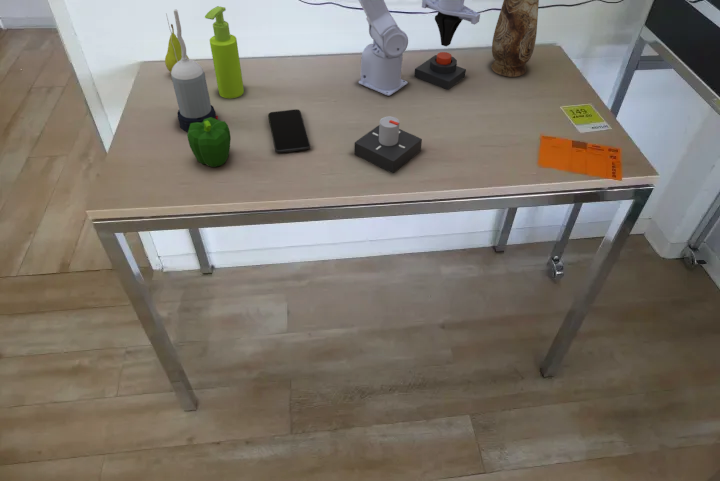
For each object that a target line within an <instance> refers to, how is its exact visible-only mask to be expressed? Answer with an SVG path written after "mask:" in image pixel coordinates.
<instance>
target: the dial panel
mask: <svg viewBox="0 0 720 481" xmlns="http://www.w3.org/2000/svg"><path fill="white" fill-rule="evenodd" d="M379 125H380V124H378V125H377V126H375V127H374V128H373V129H371V130H370V131H368V132H367V133H366V134H364V135H363V136H362V137H361V138H359V139H357V140H356V141H354V148H353V149H354V155H355V156H357V157H359V158H361V159H363V160H365V161H367V162H369V163H370V164H373V165H375V166H377V167H379V168H381V169H382V170H385V171H387V172H389V173H392V174H394V173H395V172H397V171H398V170H399V169H400V168H402V167H403V166H404V165H405V164H407V163H408V162H409V161H410V160H411V159H413V158H414V157H415V156H416V155H417V154H418V153H420V152H421V151H422V144H423V139H422V138H421V137H419V136H417V135H415V134H413V133H409V132H407V131H405V130H403V129H402V128H399V136H398V143H397V144H395V145H393V146H385V145H382V144H381V143H380V142H379Z"/></svg>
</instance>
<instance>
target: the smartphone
mask: <svg viewBox="0 0 720 481" xmlns="http://www.w3.org/2000/svg"><path fill="white" fill-rule="evenodd" d="M267 116H268V122H269V127H270V132H271V136H272V141H273V146H274V151H275V152H276V153H278V154H282V153H291V152H298V151H306V150H309V149H310V148H311V144H310V140H309V137H308V132H307V130H306V126H305V122H304V118H303V115H302V112H301V110H300V109H287V110H278V111H270V112H269V113H268V114H267Z"/></svg>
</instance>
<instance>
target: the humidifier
mask: <svg viewBox="0 0 720 481" xmlns="http://www.w3.org/2000/svg"><path fill="white" fill-rule="evenodd" d="M165 14H166V19H167V23H168V28H169V32H170V36H171V43H172V29H171V25H170V23H169V22H170V21H169V18H168V14H167V13H165ZM173 15H174V20H175V26H176V37H177V38H178V40H179V42H180V45H181V49H182V58H181V60H180V61H178V60H177V61H178V62H177V63H176V64H175V65H174V66H173V68H172V71H171V72H170V74H171V75H170V77H171V82H172V86H173V89H174V93H175V98H176V101H177V102H176V103H177V106H178V110H177V114H176V115H177V120H178V124H179V127H180V129H181V130H183V131H184V132H186V133H188V130H189V127H190V123H196V122H201V123H202V122H203V120H204V119H207V118H209V117H212V118H214V119H217V120H219V116H218V115H217V112H216V109H215V108H214V106H213V105H212V104H211V99H210V94H209V89H208V84H207V83H208V82H207V79H206V73H205V71H204V68H203V66H202V65H201V64H200V63H198V62H197V61H196V60H194V59H190V58H189V57H188V58H189V59H188V58H187V57H186V55H187V46H186V43H185V40H184V39H183V37H182V26H181V21H180V17H179V10H178V9H173ZM172 45H173V44H172ZM173 48H174V46H173ZM174 51H175V49H174ZM175 56H176V53H175ZM176 59H177V57H176Z"/></svg>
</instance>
